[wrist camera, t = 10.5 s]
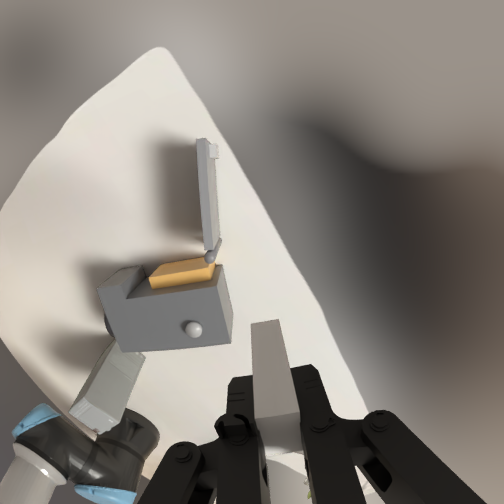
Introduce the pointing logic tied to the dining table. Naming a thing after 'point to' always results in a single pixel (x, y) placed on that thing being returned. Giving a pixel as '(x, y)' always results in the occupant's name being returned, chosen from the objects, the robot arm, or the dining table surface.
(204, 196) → the door
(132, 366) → the skincare box
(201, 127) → the dining table surface
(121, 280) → the housing
